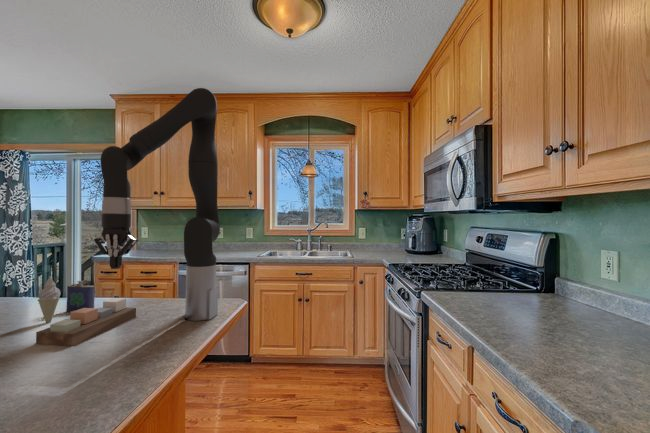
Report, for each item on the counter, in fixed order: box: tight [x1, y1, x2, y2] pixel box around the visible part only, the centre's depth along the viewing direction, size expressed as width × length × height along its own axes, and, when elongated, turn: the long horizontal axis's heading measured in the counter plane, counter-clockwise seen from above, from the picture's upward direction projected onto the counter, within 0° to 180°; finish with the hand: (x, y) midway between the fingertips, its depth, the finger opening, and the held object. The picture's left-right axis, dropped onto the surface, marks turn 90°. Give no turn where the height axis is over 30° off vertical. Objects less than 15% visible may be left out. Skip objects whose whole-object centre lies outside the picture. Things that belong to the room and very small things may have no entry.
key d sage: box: [49, 318, 81, 333], centre depth 79 cm, size 4×4×3 cm
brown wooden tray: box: [34, 306, 139, 348], centre depth 87 cm, size 11×23×4 cm, turn 175°
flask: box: [65, 280, 96, 313], centre depth 106 cm, size 9×3×11 cm, turn 88°
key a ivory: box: [102, 297, 127, 312], centre depth 95 cm, size 4×4×3 cm
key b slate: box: [98, 307, 113, 318], centre depth 90 cm, size 4×4×3 cm
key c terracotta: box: [69, 307, 99, 324], centre depth 84 cm, size 4×4×3 cm
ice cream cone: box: [37, 275, 61, 324], centre depth 92 cm, size 5×5×15 cm
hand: (115, 268), depth 95 cm, fingers closed
